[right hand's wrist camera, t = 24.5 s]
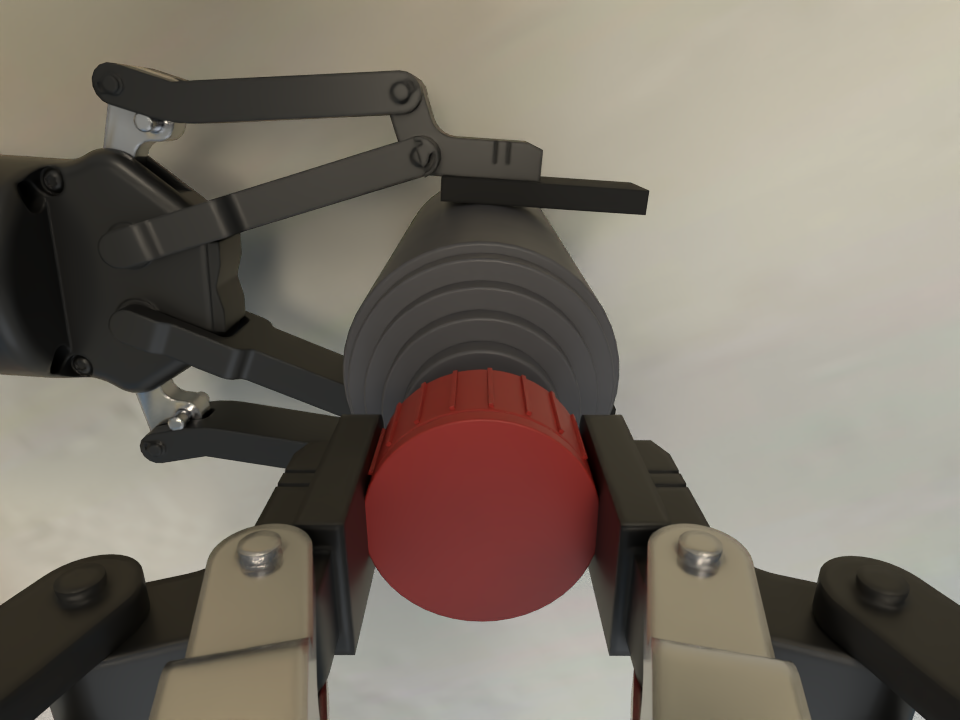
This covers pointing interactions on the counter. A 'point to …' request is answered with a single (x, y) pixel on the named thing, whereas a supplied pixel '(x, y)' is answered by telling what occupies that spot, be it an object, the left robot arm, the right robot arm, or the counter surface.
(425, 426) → the cap
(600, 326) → the bottle
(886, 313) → the counter surface
